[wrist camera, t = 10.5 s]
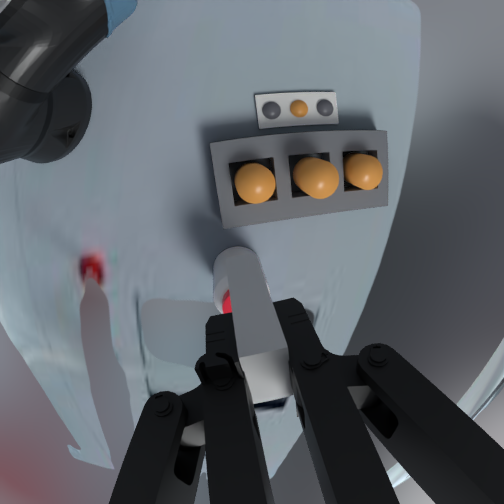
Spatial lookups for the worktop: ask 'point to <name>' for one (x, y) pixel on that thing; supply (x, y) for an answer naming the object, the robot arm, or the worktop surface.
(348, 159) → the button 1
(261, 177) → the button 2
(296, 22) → the worktop surface
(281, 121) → the pattern card
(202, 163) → the worktop surface
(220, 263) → the pill bottle
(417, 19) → the worktop surface
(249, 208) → the board
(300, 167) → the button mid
